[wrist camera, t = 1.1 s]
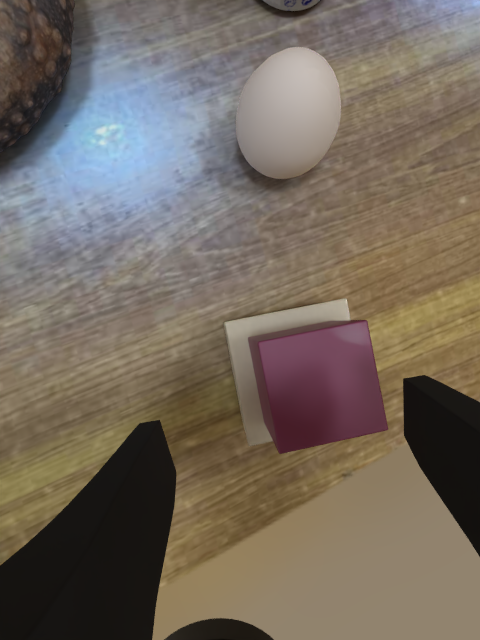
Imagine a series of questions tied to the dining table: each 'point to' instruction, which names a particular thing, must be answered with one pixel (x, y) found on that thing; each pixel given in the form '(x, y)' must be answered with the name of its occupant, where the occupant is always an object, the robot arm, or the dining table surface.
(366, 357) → the mulberry block
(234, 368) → the base block
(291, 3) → the beverage can
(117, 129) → the dining table surface
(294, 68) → the egg
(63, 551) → the robot arm
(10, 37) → the sea urchin shell
